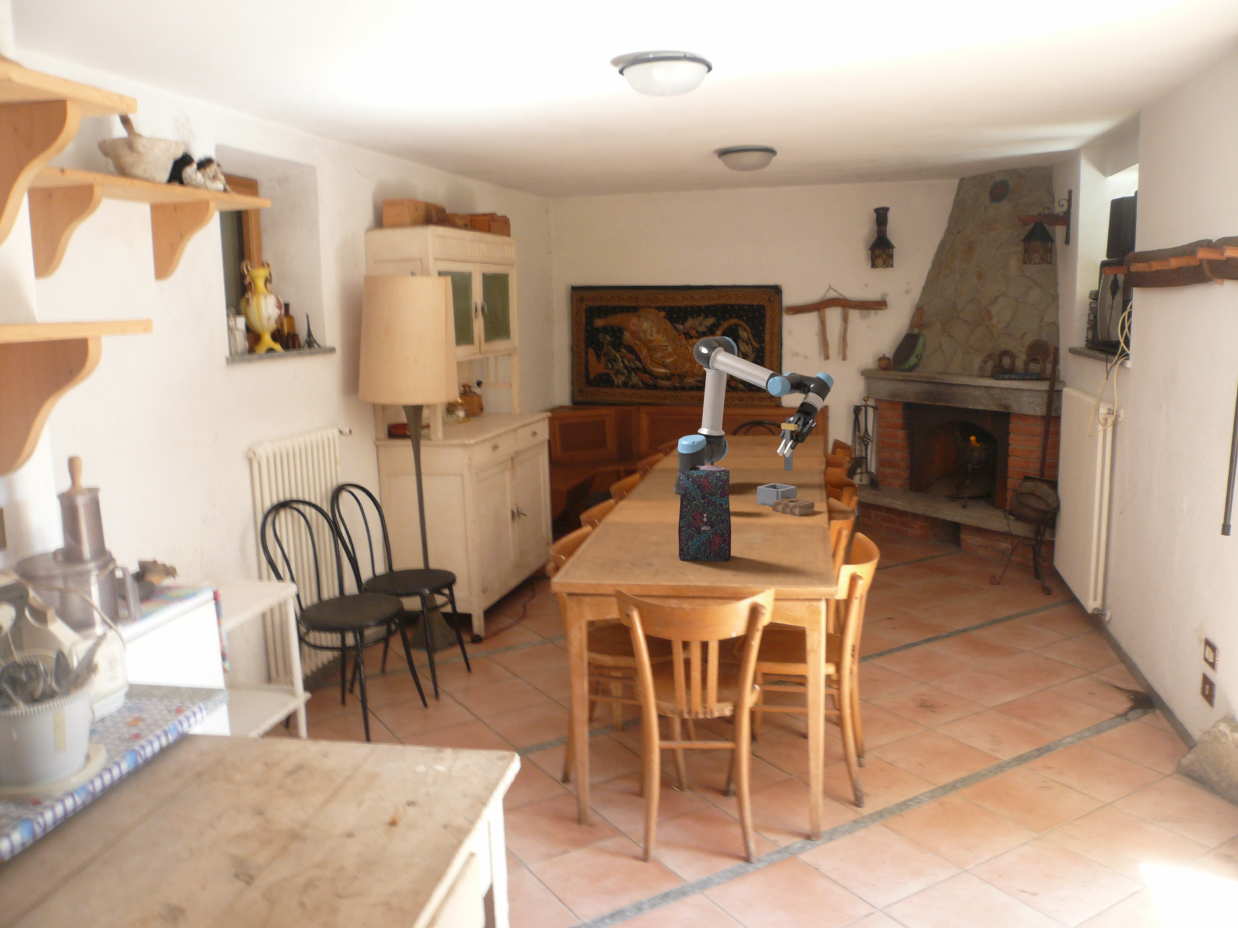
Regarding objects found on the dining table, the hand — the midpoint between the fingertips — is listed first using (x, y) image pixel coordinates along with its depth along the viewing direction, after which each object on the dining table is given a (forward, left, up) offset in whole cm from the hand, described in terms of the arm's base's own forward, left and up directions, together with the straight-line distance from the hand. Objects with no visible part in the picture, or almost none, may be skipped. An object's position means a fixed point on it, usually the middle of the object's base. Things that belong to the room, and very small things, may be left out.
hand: (782, 454), depth 364 cm
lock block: (+4, +1, -22) cm, 22 cm away
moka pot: (-19, -22, -22) cm, 36 cm away
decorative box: (+22, -72, -22) cm, 78 cm away
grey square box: (-8, +8, -22) cm, 24 cm away
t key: (0, +4, -7) cm, 8 cm away
